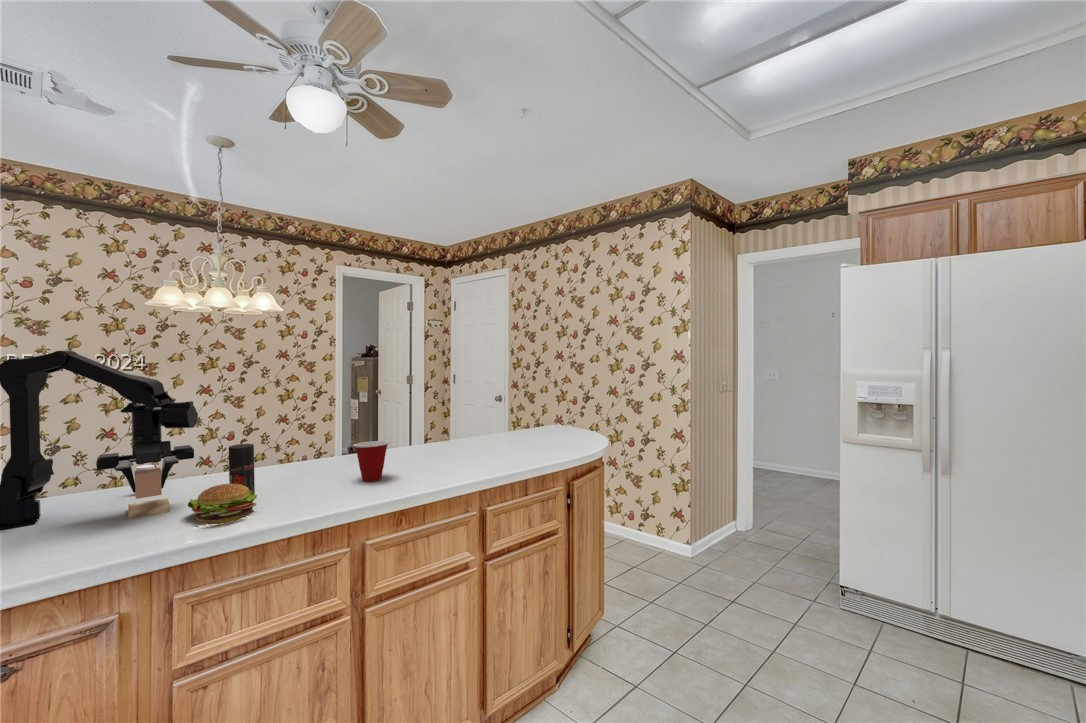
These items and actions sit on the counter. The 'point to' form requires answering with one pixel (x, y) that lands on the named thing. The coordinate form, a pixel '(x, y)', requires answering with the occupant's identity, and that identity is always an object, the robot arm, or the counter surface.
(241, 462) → the deodorant
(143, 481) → the block
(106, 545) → the counter surface
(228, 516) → the food
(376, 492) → the counter surface
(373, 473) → the plastic cup
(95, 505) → the counter surface
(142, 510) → the tan square slab
